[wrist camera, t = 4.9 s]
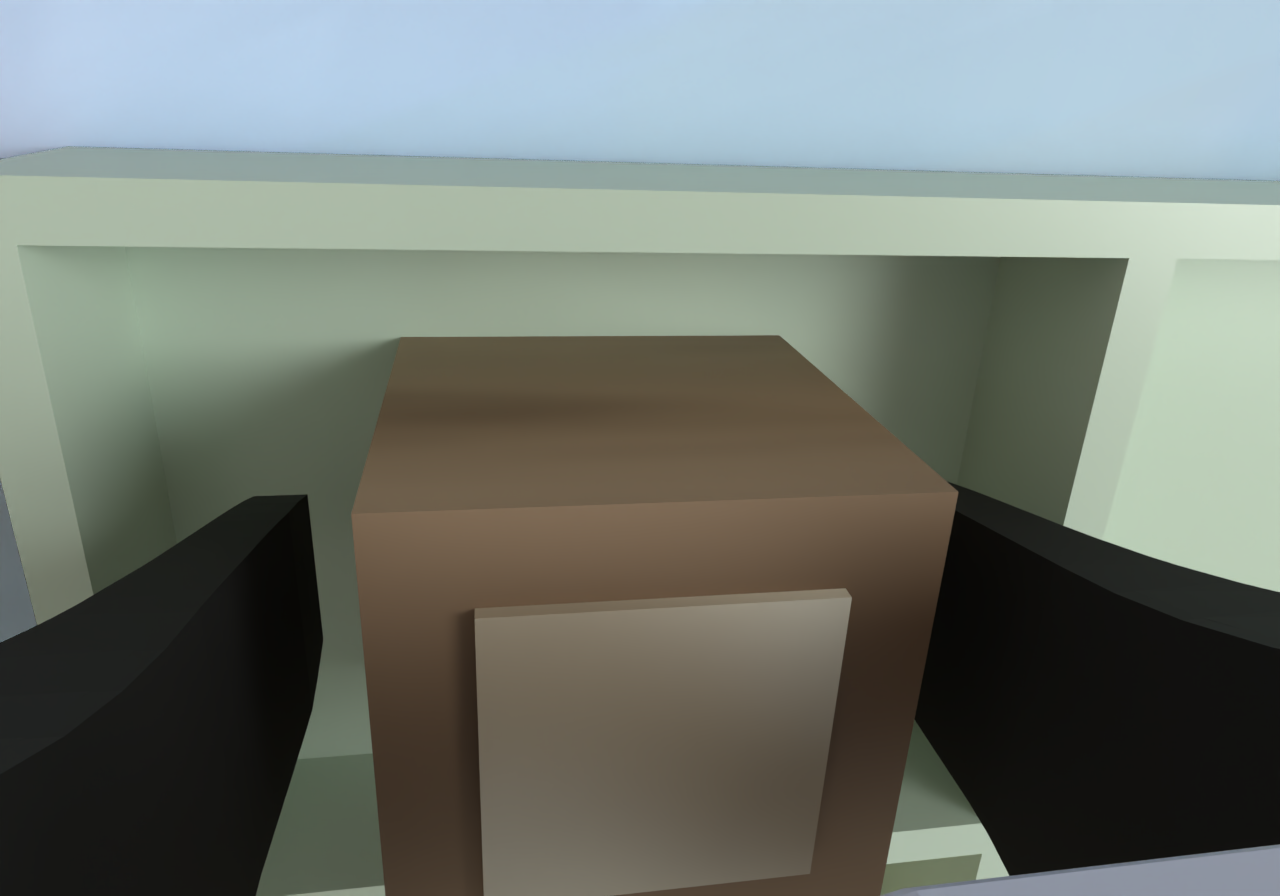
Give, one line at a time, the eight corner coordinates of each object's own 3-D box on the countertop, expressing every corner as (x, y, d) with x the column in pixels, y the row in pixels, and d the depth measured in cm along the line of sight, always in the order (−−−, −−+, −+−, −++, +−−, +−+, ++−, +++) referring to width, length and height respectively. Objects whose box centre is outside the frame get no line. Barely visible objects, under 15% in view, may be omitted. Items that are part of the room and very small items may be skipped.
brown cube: (747, 644, 14) (882, 928, 9) (420, 665, 13) (391, 988, 9) (779, 334, 12) (967, 499, 8) (400, 337, 11) (347, 523, 7)
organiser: (1327, 977, 21) (1452, 1110, 19) (255, 1133, 17) (214, 1332, 15) (1699, 192, 14) (1983, 221, 12) (67, 146, 10) (-76, 174, 8)
